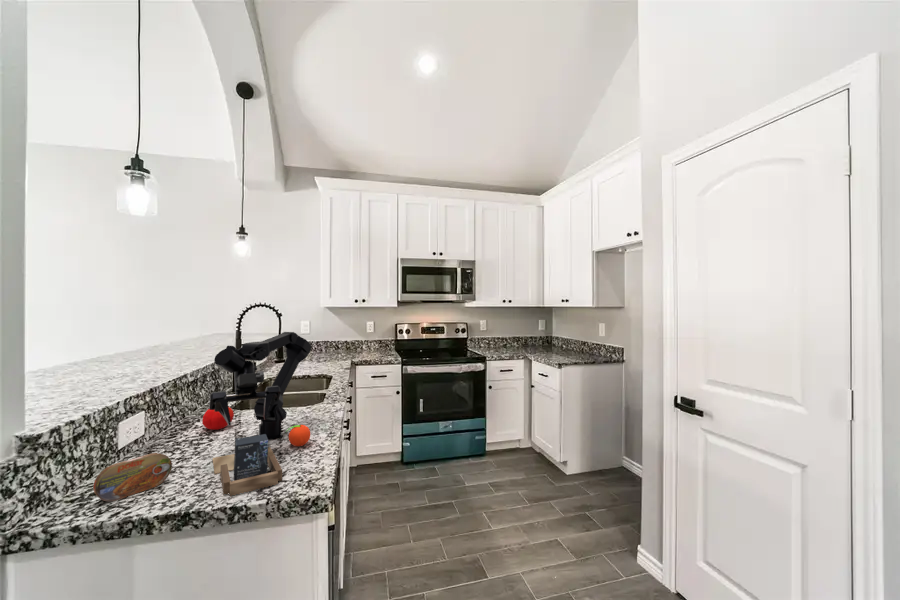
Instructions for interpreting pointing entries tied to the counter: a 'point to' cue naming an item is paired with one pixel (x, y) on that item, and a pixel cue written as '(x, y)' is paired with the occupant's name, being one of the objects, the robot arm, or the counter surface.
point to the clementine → (299, 435)
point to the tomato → (215, 419)
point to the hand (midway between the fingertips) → (247, 422)
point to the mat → (228, 461)
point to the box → (250, 456)
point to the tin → (132, 476)
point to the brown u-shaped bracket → (251, 479)
